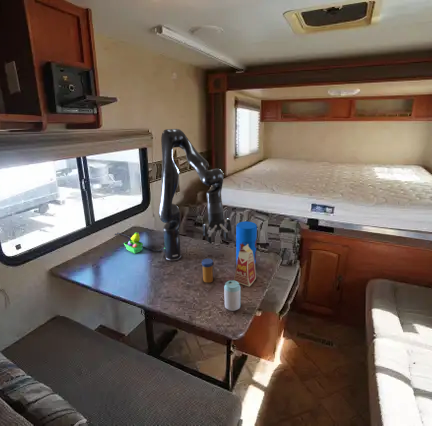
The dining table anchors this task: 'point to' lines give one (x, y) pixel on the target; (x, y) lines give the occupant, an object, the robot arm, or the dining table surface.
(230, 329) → the dining table surface
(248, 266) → the milk carton
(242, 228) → the thermos
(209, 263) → the jar lid
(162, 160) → the robot arm
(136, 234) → the fruit basket
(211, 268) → the jar
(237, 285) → the can
